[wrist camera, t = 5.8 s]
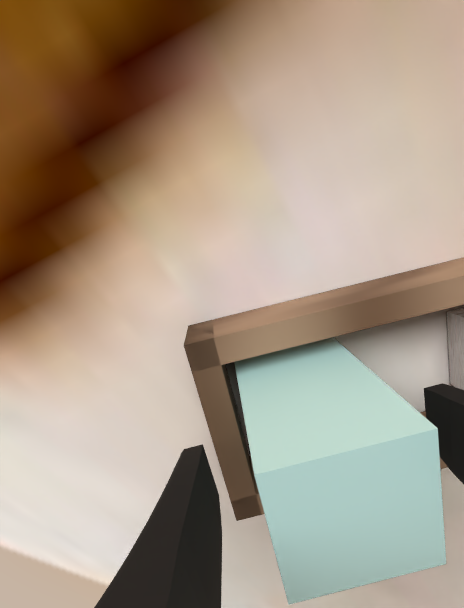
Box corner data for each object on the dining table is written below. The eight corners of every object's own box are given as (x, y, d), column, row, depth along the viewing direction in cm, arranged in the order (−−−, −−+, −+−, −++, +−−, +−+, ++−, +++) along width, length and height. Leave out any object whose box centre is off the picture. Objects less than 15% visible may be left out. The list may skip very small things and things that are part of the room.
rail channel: (517, 244, 12) (578, 247, 10) (514, 407, 13) (565, 437, 12) (188, 325, 11) (184, 345, 9) (233, 478, 13) (236, 520, 11)
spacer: (327, 332, 12) (437, 428, 6) (340, 415, 13) (446, 563, 7) (233, 356, 12) (254, 474, 6) (253, 437, 13) (288, 604, 7)
